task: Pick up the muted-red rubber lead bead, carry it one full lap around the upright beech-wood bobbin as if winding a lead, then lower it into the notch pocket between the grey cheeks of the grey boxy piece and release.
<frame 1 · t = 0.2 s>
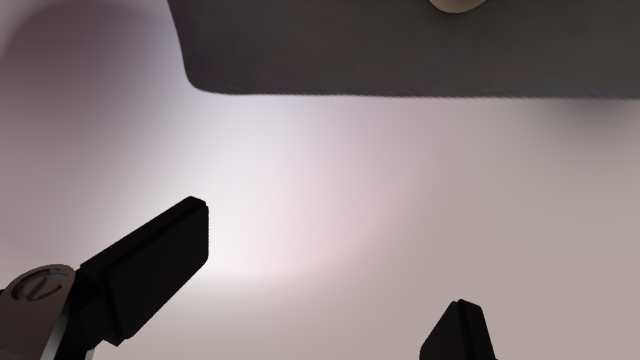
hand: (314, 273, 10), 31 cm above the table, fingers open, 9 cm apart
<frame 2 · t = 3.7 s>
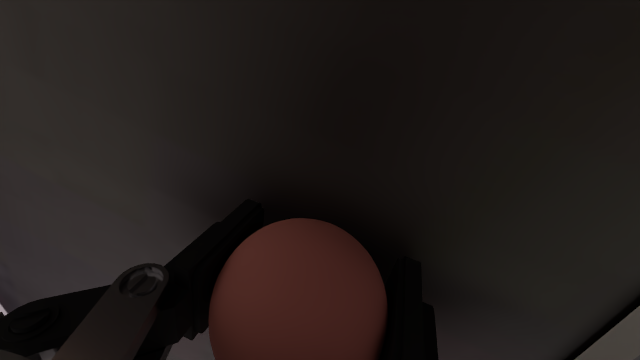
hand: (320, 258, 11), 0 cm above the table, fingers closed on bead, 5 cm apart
bead: (324, 249, 11), on the table, touching gripper
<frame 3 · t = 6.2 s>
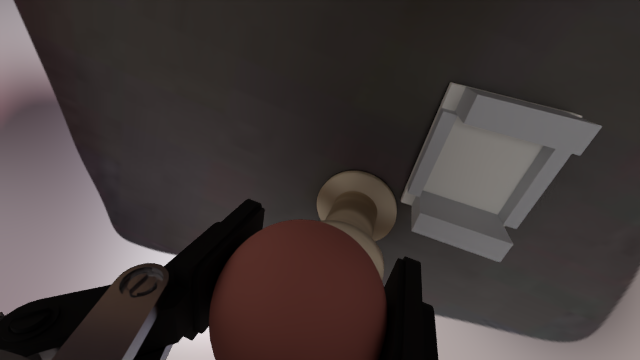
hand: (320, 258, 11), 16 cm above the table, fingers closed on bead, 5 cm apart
bead: (324, 250, 11), point 15 cm above the table, touching gripper
grey boxy piece: (474, 161, 22), on the table
bobbin: (356, 206, 27), on the table
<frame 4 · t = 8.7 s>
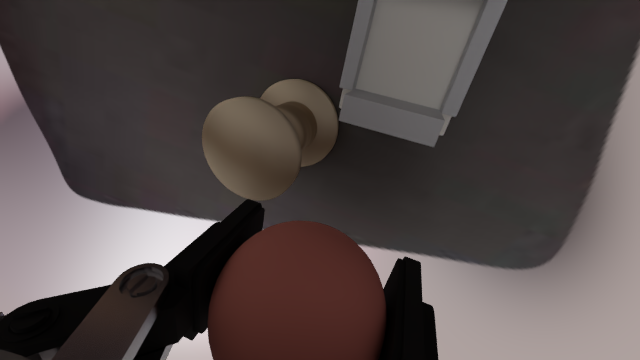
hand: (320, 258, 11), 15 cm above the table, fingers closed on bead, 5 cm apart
bead: (323, 251, 11), point 15 cm above the table, touching gripper
grey boxy piece: (412, 49, 20), on the table
bobbin: (297, 124, 25), on the table
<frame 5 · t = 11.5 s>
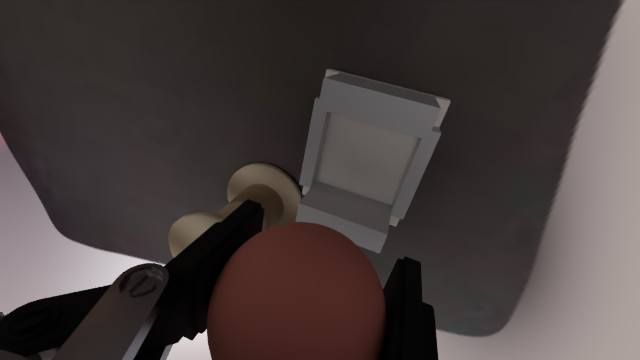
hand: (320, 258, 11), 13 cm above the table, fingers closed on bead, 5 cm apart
bead: (323, 252, 11), point 12 cm above the table, touching gripper
grey boxy piece: (366, 150, 21), on the table
bobbin: (266, 200, 27), on the table
when the fingers open (4 cm above the table, at t = 13.8 s): bead drops 2 cm, resting on grey boxy piece.
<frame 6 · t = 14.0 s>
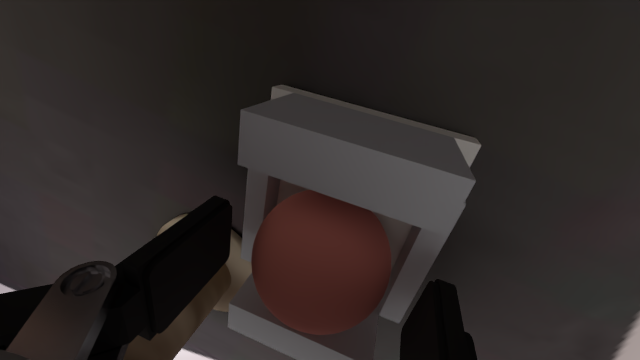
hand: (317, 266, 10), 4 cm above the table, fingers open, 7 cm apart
bead: (337, 219, 13), point 1 cm above the table, touching grey boxy piece
grey boxy piece: (343, 208, 14), on the table
bobbin: (210, 261, 19), on the table
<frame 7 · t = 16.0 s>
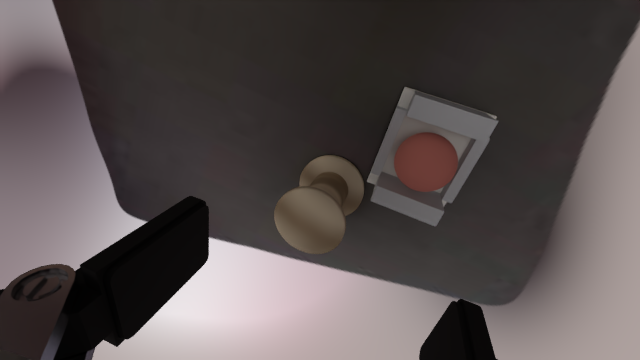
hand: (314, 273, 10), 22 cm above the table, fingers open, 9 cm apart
bead: (423, 153, 27), point 1 cm above the table, touching grey boxy piece
grey boxy piece: (423, 150, 28), on the table
bobbin: (332, 186, 33), on the table
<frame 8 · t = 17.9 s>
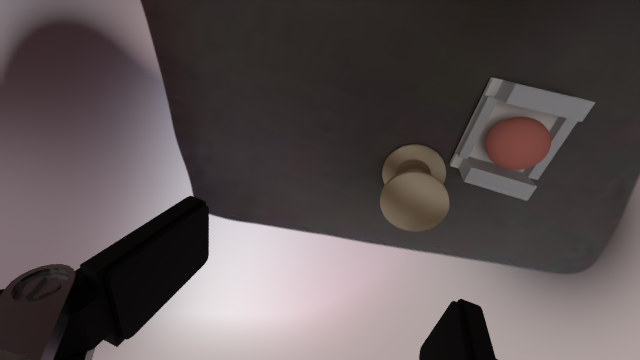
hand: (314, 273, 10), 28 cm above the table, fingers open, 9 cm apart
bead: (508, 136, 30), point 1 cm above the table, touching grey boxy piece
grey boxy piece: (506, 133, 31), on the table
bobbin: (413, 172, 36), on the table
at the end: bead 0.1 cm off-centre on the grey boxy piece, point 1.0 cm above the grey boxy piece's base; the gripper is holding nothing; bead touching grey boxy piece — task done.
